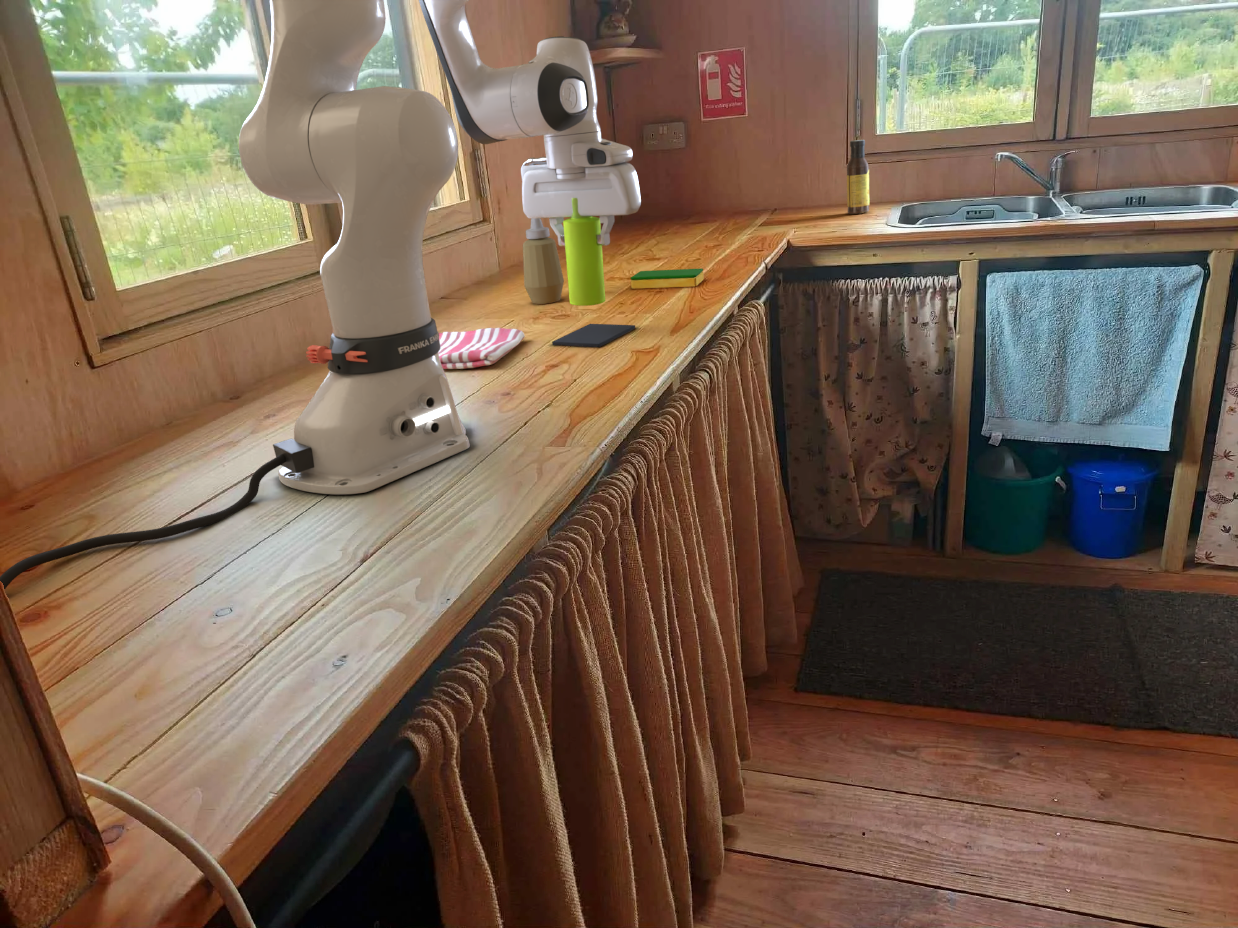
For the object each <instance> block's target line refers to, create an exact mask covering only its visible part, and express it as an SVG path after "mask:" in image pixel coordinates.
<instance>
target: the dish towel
mask: <svg viewBox="0 0 1238 928" xmlns="http://www.w3.org/2000/svg"><path fill="white" fill-rule="evenodd" d="M524 338H525V333H524V331H523V330H520V329H517V328H505V327H486V328H477V329H475V330H465V331H443V332H439V341H440V346H441V349H440V350H439V352H438V354H439V358H440V361H441V365H442V368H443V370H455V369H460V370H463V369H474V368H479V367H485V366H490V365H493V364H496V363H497V362H498V361H499V360H500V359H501V358H503V357H505V356H506V355H507V354H508V353H510V352H511V351H512V350H513V349H515V348H516V347H518V346H519V344H520V343H521V341H524Z"/></svg>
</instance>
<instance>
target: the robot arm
mask: <svg viewBox="0 0 1238 928" xmlns="http://www.w3.org/2000/svg"><path fill="white" fill-rule="evenodd" d="M469 1H470V0H418V3H419V6H420V10H421V13H422V15H423V18H424V21H425V24H426V26H427V27H426V28H427V30H428V32H429V35H430V37H431V41H432V42H433V45H434V48H435V50H436V53H437V56H438V60H439V61H440V64H441V67H442V70H443V72H444V75H445V79H446V80H447V84H448V87H449V89H450V93H451V98H452V101H453V102H452V103H453V107H454V108H453V109H454V112H455V116H456V119H457V121H458V123H459V125H460V127H461V128H462V130H463V131H464V132H465V133H466V134H467V135H468V136H469V137H470V138H471V139H473V140H474V141H475V142H476V143H478V144H481V145H491V144H495V143H499V142H500V143H501V142H505V141H508V140H516V139H527V138H535V137H539V136H540V137H542V136H543V144H544V152H545V156H540V157H529V158H527V159H526V161H524V162H523V163H522V166H521V168H520V175H521V181H522V182H521V199H522V202H521V203H522V212H523V213H524V215H525V217H526V218H527V219H531V218H541V219H548V220H549V226H550V227H551V229H552V231H553V232H554V234H555V235H556V236H557V242H558V246H559V247H565V239H564V226H563V221H564V220H565V219H564V218H571V217H572V214H573V208H572V198H577V199H578V213H579V214H580V216H583V217H584V216H592V217H599V218H600V224H603V225H602V226H601V233H600V234H597V235H596V239H597V245H598V246H602V247H604V246H609V245H610V243H611V236H610V233H611V231H612V229H613V225H615V221H616V220H615V216H629V215H632V214H635V213H637V212H638V211H639V210H640V207H641V205H642V199H641V190H640V184H639V177H638V174H637V171H636V168H635V167H634V165H632V164H631V163H630V161H632V160H633V149H632V148H631V147H630V146H628V145H625V144H621V143H617V142H615V141H612V140H608V139H605V138H602V131H601V130H602V129H601V125H600V123H599V120H598V115H597V109H598V102H599V101H598V99H599V97H598V90H597V81H596V75H595V68H594V64H593V60H592V55H591V52H590V49H589V47H588V44H587V43H586V42H585V41H584V40H582V39H580V38H578V37H575V36H564V35H563V36H562V35H561V36H550V37H546V38H543V39H542V40H540V41H539V42H538V43H537V46H536V55H535V56H534V57H533V58H532V59H531V60H529V61H528V62H527V63H523V64H521V65H513V66H506V67H499V68H495V67H491V66H489V65H487V64H486V63H484V62H483V61H482V60H481V59H482V58H481V57H480V54H479V51H478V49H477V44H476V42H475V39H474V36H473V33H472V30H471V26H470V23H469V20H468V18H467V15H466V4H467V3H468V2H469ZM269 5H270V16H271V41H270V53H269V57H268V58H269V59H268V64H267V70H266V74H265V78H264V83H263V86H262V90H261V92H260V95H259V98H258V100H257V102H256V105H255V106H254V108H253V109H252V111H251V112H250V114H249V115H248V116H247V117H246V118H245V120H244V121H243V124H242V126H241V128H240V131H239V137H238V153H239V158H240V162H241V166H242V168H243V170H244V172H245V174H246V176H247V178H248V179H249V180H250V182H251V183H252V185H253V186H254V187H255V188H256V189H257V190H258V191H260V192H261V193H262V194H264V195H266V196H268V197H270V198H272V199H277V200H282V201H285V202H290V203H296V204H301V205H324V204H325V205H326V204H342V227H341V228H342V229H341V231H340V236H339V239H338V241H337V243H335V245H333V246H332V247H331V248H329V250H328V251H327V252H326V253H325V254H324V256H323V258H322V259H321V262H320V267H319V275H320V280H321V285H322V288H323V292H324V297H325V298H324V299H325V302H326V307H327V310H328V315H329V319H330V324H331V328H332V333H331V335H330V339H329V347H328V346H326V345H316V344H312V345H309V346H308V347H307V349H306V350H308V351H306V352H305V354H306V356H305V357H306V358H307V361H309V362H310V363H311V364H322V365H325V364H327V369H328V373H327V375H326V376H325V378H324V379H323V381H322V383H321V384H320V385H319V387H318V388H317V390H316V391H315V393H314V394H313V396H312V398H311V399H310V400H309V402H308V403H307V405H306V406H305V408H304V409H303V410H302V412H301V413H300V414H299V416H298V417H297V418H296V420H295V423H294V425H293V426H294V427H293V438H288V439H285V440H282V441H279V442H277V443H273V444H272V447H273V451H274V454H275V457H273V458H272V459H271V460H268V461H267V462H265V463H264V464H262V465H261V466H259V468H257V469H256V471H254V473H252V476H251V477H250V479H249V483H248V490H247V491H246V493H244V495H243V496H242V497H241V498H240V499H238V500H237V501H236V502H235V503H234V504H231V505H230V506H228V507H226V508H225V509H222V510H220V511H217V512H214V513H210V514H207V515H203V516H200V517H196V518H191V519H189V520H184V521H182V522H178V523H174V524H171V525H168V526H167V525H166V526H164V527H159V528H153V529H146V530H138V531H137V530H136V531H128V532H120V533H111V534H104V535H99V536H95V537H91V538H86V539H84V540H80V541H77V542H73V543H71V544H67V545H65V546H61V547H57V548H54V549H50V550H47V551H42V552H39V553H36V554H34V555H31V556H28V557H26V558H23V559H22V560H19V561H18V562H16V563H15V564H13V565H12V566H10V567H9V568H8V569H7V570H6V571H4V572H3V573H2V574H1V575H0V581H1V582H2V583H3V585H4V589H5V590H6V588H7V587H8V586H9V585H10V584H12V582H13V581H14V580H15V579H16V578H17V577H18V576H20V575H21V574H23V573H24V572H26V571H28V570H30V569H32V568H35V567H37V566H40V565H43V564H46V563H50V562H53V561H57V560H60V559H63V558H67V557H70V556H73V555H76V554H80V553H82V552H85V551H89V550H93V549H96V548H100V547H101V548H102V547H105V546H110V545H111V546H112V545H119V544H126V543H127V544H128V543H137V542H138V543H139V542H145V541H146V542H147V541H153V540H159V539H164V538H169V537H173V536H176V535H180V534H183V533H187V532H190V531H193V530H196V529H200V528H203V527H207V526H211V525H213V524H216V523H218V522H220V521H223V520H224V519H226V518H228V517H230V516H232V515H234V514H235V513H237V512H239V511H241V510H243V509H244V508H246V507H247V506H248V505H249V504H251V502H253V500H254V499H255V498H256V497H257V495H258V493H259V490H260V489H259V488H260V484H261V481H262V480H263V478H264V477H265V476H266V475H267V474H269V473H270V472H272V471H273V470H275V469H277V468H278V467H280V466H281V468H279V470H278V480H279V481H280V482H281V484H282V485H284V486H287V487H289V488H292V489H295V490H298V491H303V492H308V493H314V494H323V495H356V494H363V493H367V492H370V491H373V490H375V489H378V488H380V487H383V486H385V485H387V484H390V483H392V482H394V481H397V480H399V479H401V478H403V477H406V476H408V475H410V474H412V473H414V472H417V471H420V470H422V469H424V468H427V467H428V466H431V465H434V464H435V463H438V462H440V461H442V460H445V459H447V458H450V457H451V456H454V455H457V454H459V453H461V452H463V451H466V450H468V449H469V448H470V447H471V444H470V440H469V437H468V436H467V435H466V434H467V430H466V428H465V426H464V424H463V422H462V420H461V417H460V415H459V412H458V410H457V407H456V404H455V403H456V402H455V399H454V397H453V393H452V389H451V387H450V383H449V380H448V377H447V375H446V372H445V369H443V368H442V365H441V361H440V358H439V354H438V352H439V350H440V349H441V346H440V341H439V333H440V332H439V331H438V327H437V322H436V319H434V318H433V317H432V315H431V310H430V305H429V303H430V302H429V296H428V291H427V284H426V276H425V269H424V260H423V244H424V243H423V241H424V234H425V228H426V223H427V220H428V216H429V212H430V210H431V207H432V206H433V205H432V204H433V203H434V201H435V198H436V197H437V196H438V195H439V192H440V191H441V190H442V189H443V187H444V186H445V185H446V184H447V183H448V182H449V181H450V179H451V177H452V176H453V173H454V171H455V168H456V165H457V161H458V155H459V140H458V139H459V138H458V133H457V129H456V126H455V123H454V120H453V118H452V117H451V115H450V112H448V110H447V108H446V107H445V106H444V104H443V103H442V101H440V99H438V98H437V97H436V96H435V95H434V94H432V93H430V92H428V91H425V90H420V89H413V88H408V87H399V86H389V85H387V86H386V85H381V86H374V87H366V88H359V89H357V84H358V79H359V75H360V71H361V68H362V65H363V63H364V61H365V59H366V57H367V55H368V54H369V53H370V52H371V50H373V48H374V47H375V46H376V45H377V44H378V43H379V41H380V40H381V38H382V36H383V34H384V31H385V27H386V21H387V20H386V19H387V18H386V9H385V0H269Z"/></svg>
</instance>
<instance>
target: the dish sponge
mask: <svg viewBox="0 0 1238 928" xmlns="http://www.w3.org/2000/svg"><path fill="white" fill-rule="evenodd" d="M704 277H705V275H704V269H703V268H700V267H699V268H682V269H681V268H680V269H679V268H678V269H677V268H676V269H657V270H656V269H654V270H640V271H638V272H636V273H635V274H634V275H632V276H631V277H630V287H631V289H632V290H639V289H641V290H643V289H666V288H667V289H668V288H671V289H672V288H695V287H697V286H698V285H700V283H702V282H703V281H704V280H705V278H704Z"/></svg>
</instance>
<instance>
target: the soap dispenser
mask: <svg viewBox="0 0 1238 928" xmlns="http://www.w3.org/2000/svg"><path fill="white" fill-rule="evenodd" d="M572 208H573V214H572V217H568V218H566V219H564V221H563V223H562V226H563V227H564V239H565V246H564V248H565V249H564V250H565V251H564V252H565V261H566V275H567V285H568V299H569V305H572V306H576V307H577V306H579V307H587V306H596V305H601V304H603V303H605V302H606V290H605V289H606V287H605V276H604V275H605V273H604V258H603V246H598V245H597V239H596V235H597V234H600V233H601V230H602V225H601V224H602V223H600V217H598V216H584V217H583V216H580V214H579V213H578V199H577V198H572Z"/></svg>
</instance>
